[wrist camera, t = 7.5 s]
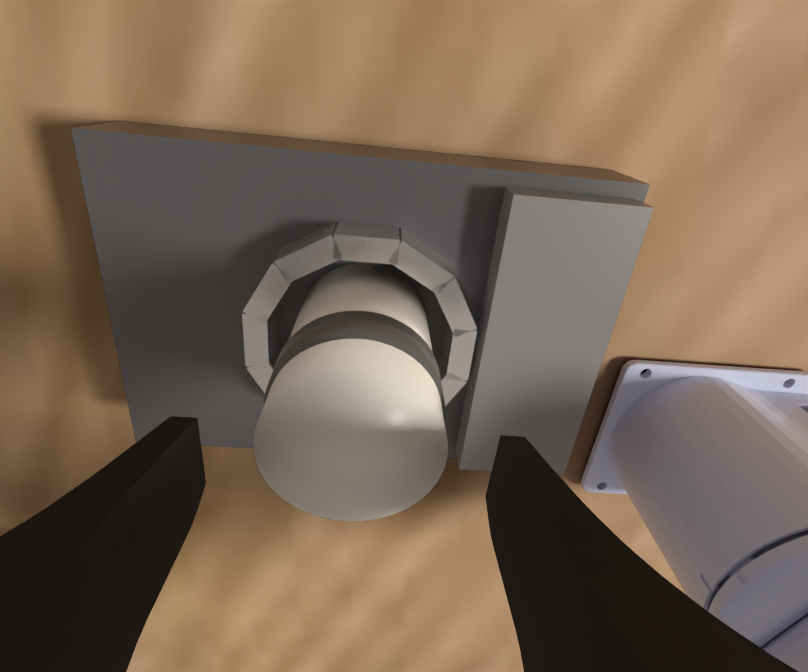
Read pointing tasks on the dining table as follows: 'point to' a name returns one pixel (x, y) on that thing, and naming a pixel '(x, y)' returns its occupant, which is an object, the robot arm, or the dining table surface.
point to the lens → (355, 400)
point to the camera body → (355, 203)
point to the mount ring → (360, 247)
